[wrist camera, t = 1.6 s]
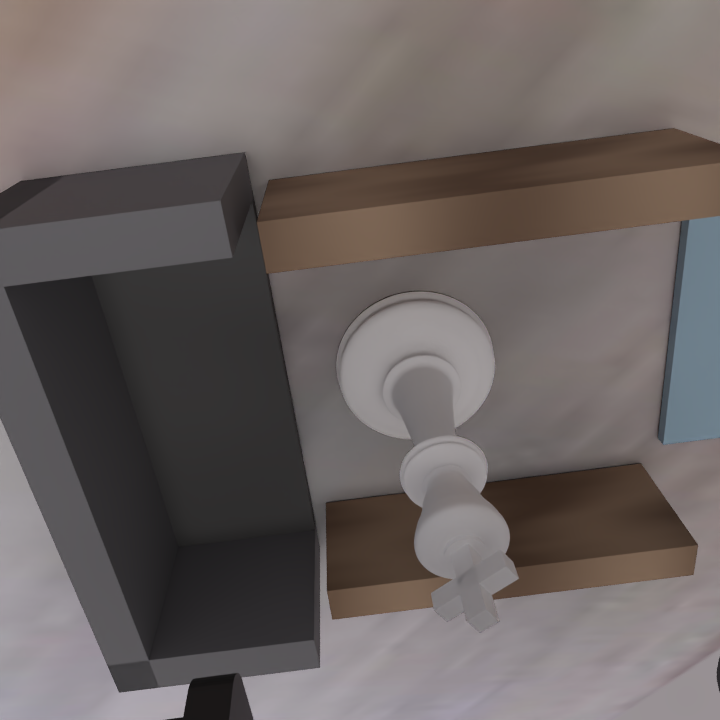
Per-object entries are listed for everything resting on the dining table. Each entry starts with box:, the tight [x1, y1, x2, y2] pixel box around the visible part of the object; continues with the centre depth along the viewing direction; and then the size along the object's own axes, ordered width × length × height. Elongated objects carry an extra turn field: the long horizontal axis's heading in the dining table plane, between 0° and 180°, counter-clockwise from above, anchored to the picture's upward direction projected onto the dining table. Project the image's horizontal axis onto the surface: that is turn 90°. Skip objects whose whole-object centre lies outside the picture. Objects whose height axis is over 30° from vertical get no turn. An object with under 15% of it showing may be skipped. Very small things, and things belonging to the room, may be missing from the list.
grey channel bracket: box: [0, 152, 320, 692], centre depth 19 cm, size 6×14×5 cm, turn 7°
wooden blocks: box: [257, 128, 720, 620], centre depth 19 cm, size 11×12×4 cm
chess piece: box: [336, 291, 519, 633], centre depth 17 cm, size 5×5×10 cm
